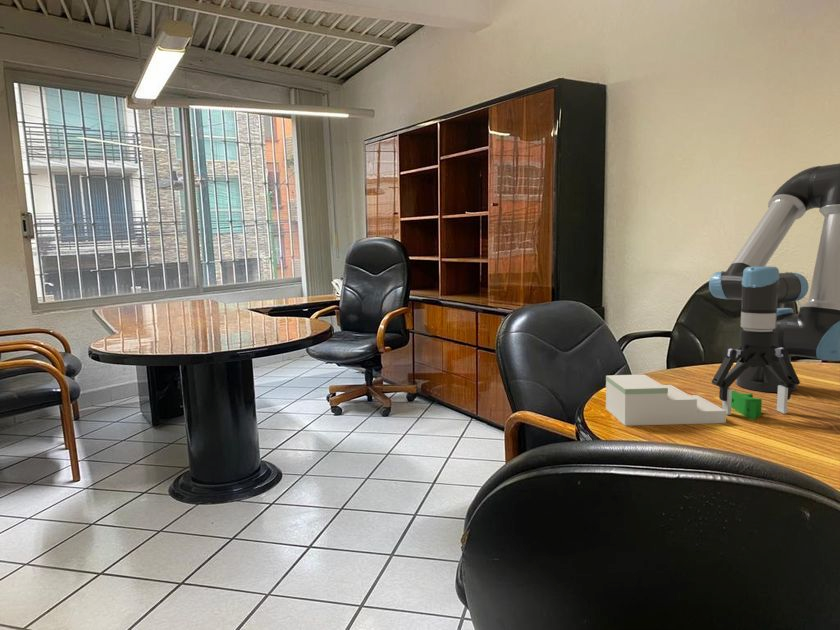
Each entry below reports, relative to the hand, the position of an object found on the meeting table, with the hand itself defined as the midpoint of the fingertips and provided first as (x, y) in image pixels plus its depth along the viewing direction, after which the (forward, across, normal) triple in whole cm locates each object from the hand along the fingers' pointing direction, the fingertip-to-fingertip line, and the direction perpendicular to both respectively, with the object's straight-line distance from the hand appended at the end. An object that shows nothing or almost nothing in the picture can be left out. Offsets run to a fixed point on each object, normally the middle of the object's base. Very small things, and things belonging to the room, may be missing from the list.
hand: (753, 412), depth 136 cm
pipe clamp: (0, +1, 0) cm, 2 cm away
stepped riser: (0, +23, 0) cm, 23 cm away
